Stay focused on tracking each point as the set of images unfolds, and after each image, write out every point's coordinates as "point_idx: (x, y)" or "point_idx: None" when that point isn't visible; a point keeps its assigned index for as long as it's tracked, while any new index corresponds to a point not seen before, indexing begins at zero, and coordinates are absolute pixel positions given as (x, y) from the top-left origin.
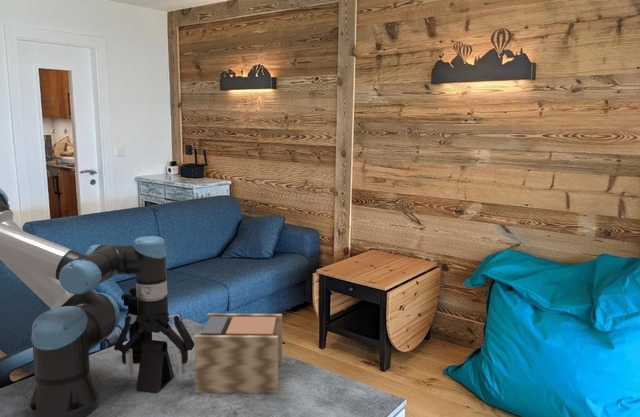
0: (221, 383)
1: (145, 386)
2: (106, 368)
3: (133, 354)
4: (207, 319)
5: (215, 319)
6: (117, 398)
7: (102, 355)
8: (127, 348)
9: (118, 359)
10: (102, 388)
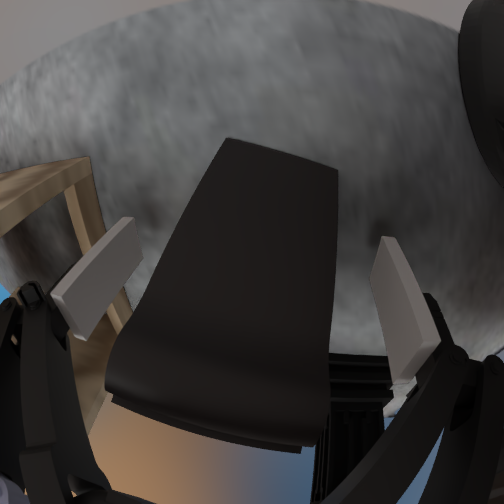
0: (13, 178)
1: (288, 167)
2: None
3: (371, 381)
4: None
5: None
6: (403, 111)
7: None
8: (436, 376)
9: None
10: (465, 210)
